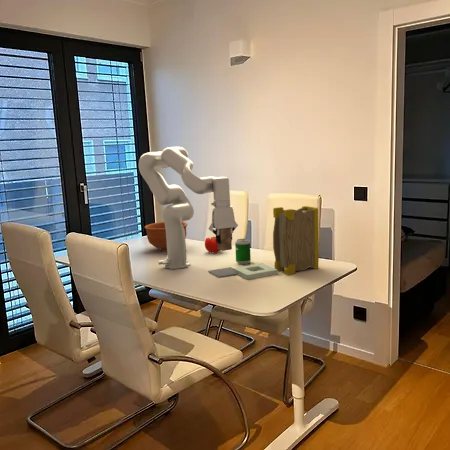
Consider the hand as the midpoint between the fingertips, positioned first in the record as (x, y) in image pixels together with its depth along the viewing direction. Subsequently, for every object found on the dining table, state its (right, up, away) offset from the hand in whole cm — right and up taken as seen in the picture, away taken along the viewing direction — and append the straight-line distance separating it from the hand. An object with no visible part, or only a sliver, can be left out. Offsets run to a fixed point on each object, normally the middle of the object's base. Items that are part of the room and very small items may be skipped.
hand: (224, 242), depth 221 cm
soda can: (+10, -12, +20) cm, 25 cm away
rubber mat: (0, -15, +3) cm, 15 cm away
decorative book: (+34, -13, +3) cm, 37 cm away
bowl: (-34, -7, +58) cm, 67 cm away
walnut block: (0, -3, +1) cm, 3 cm away
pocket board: (+15, -15, +1) cm, 21 cm away
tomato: (-6, -8, +46) cm, 47 cm away
